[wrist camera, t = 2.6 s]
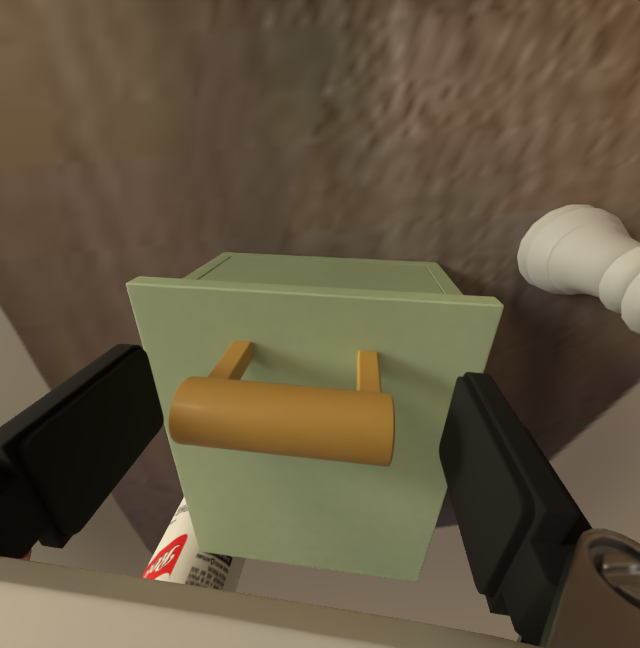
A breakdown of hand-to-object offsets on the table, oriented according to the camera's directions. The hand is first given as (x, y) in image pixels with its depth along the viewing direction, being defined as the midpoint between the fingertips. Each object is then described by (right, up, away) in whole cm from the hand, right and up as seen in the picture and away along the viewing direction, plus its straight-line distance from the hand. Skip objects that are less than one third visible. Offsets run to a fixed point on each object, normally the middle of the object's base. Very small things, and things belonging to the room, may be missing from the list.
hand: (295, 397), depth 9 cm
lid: (0, -4, +5) cm, 6 cm away
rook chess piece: (+14, +6, +7) cm, 17 cm away
